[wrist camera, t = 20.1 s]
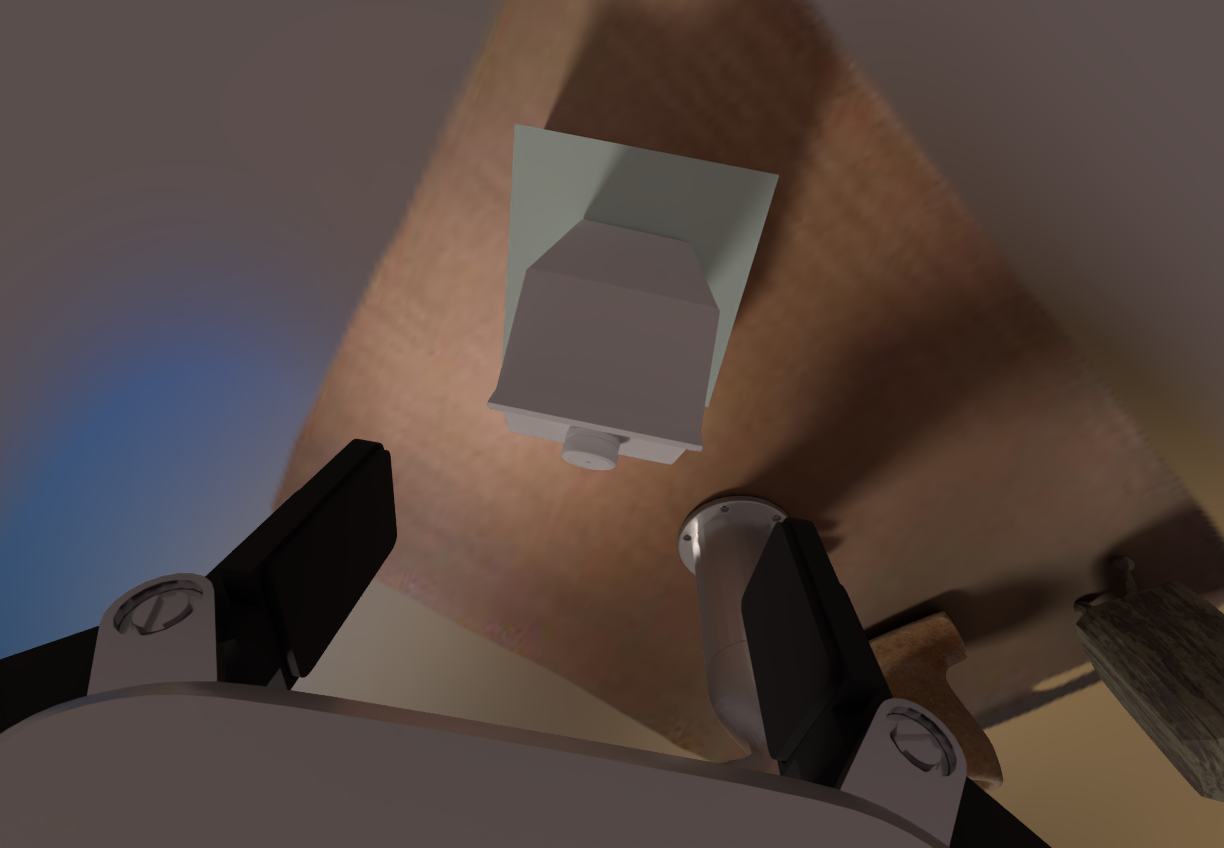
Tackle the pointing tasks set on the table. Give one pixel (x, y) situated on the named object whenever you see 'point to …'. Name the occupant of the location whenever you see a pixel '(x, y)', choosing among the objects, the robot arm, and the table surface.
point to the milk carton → (611, 348)
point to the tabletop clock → (1164, 671)
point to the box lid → (636, 210)
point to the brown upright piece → (936, 686)
